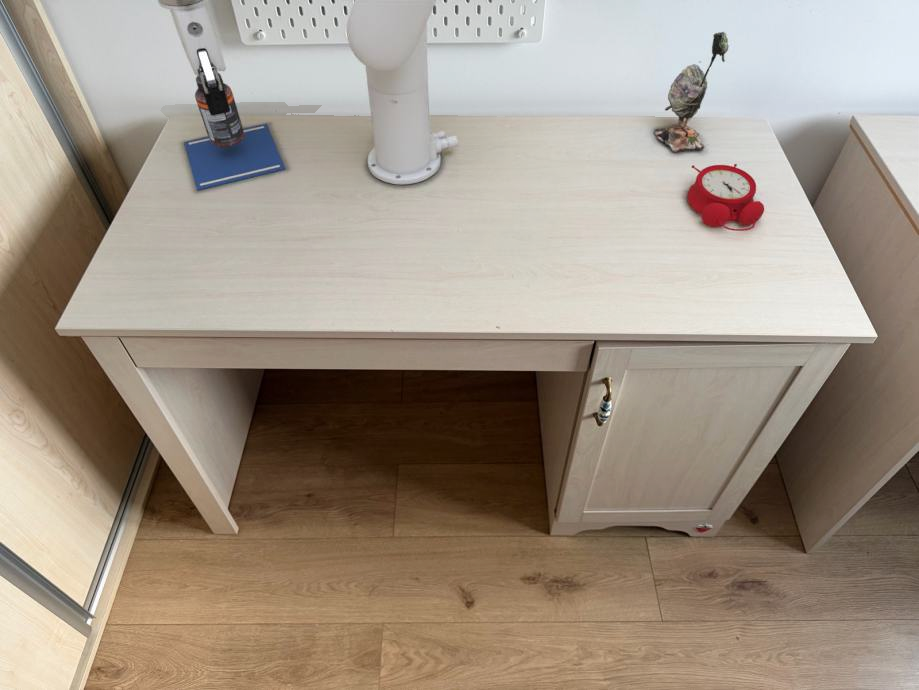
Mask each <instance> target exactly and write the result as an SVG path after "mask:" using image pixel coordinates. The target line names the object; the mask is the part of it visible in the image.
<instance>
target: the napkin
mask: <svg viewBox="0 0 919 690" xmlns="http://www.w3.org/2000/svg"><path fill="white" fill-rule="evenodd" d="M243 131H244V137H243V139H242V140H241V141H240V142H239V143H237V144H235V145H233V146H228V147H220V146H216V145H214V144H213V143H211V141H210V139H209V137H208V136H204V137H200V138H196V139H191V140H185V141H183V144H184V147H185V151H186V154H187V158H188V162H189V165H190V169H191V174H192V177H193V180H194V184H195V187H196V191H203V190H206V189H210V188H215V187H219V186H222V185H228V184H231V183H236V182H239V181H240V182H241V181H243V180H247V179H251V178H256V177H260V176H264V175H268V174H273V173H276V172H277V173H278V172H281V171H285V170H286V166H285V165H284V162H283V159H282V157H281V154H280V152H279V150H278V147H277V145H276V143H275V140H274V137H273V136H272V134H271V131H270V129H269V126H268V123H262V124H257V125H252V126H249V127H245V128H243Z"/></svg>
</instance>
